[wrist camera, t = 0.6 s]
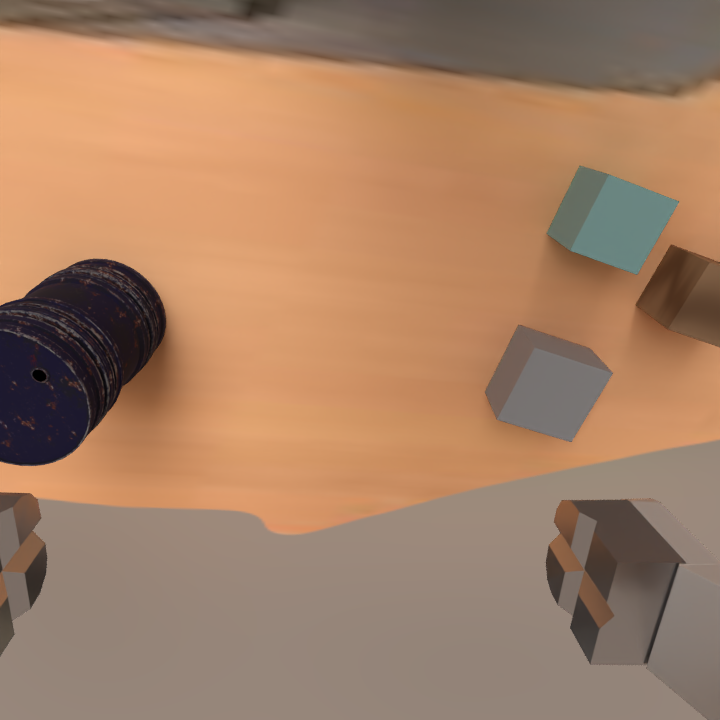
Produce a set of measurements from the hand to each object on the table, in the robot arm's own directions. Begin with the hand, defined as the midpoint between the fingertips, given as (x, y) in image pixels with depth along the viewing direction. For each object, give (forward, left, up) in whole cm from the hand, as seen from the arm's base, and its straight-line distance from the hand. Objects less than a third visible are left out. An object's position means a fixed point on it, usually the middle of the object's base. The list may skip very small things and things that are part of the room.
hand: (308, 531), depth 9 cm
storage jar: (+17, -16, -38) cm, 44 cm away
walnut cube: (-1, +29, -38) cm, 48 cm away
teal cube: (-4, +19, -38) cm, 42 cm away
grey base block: (+10, +21, -38) cm, 44 cm away
